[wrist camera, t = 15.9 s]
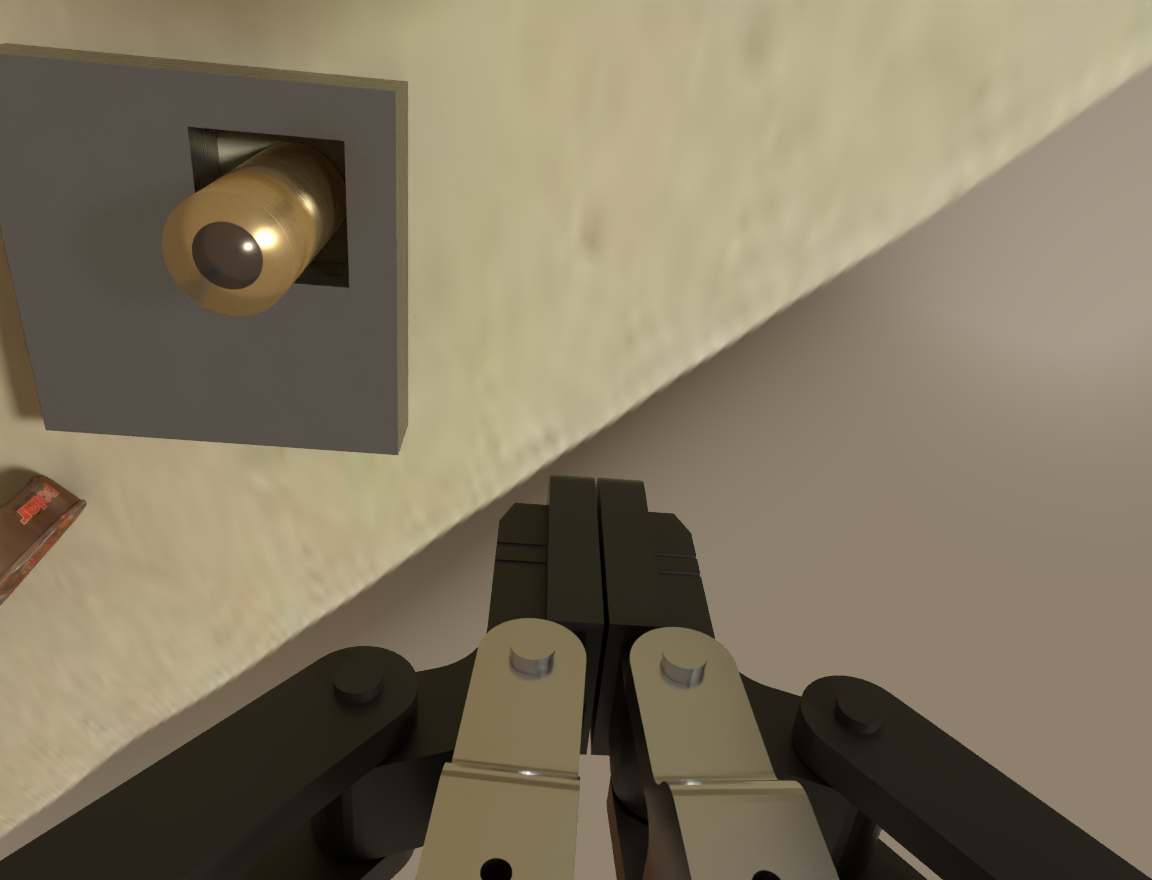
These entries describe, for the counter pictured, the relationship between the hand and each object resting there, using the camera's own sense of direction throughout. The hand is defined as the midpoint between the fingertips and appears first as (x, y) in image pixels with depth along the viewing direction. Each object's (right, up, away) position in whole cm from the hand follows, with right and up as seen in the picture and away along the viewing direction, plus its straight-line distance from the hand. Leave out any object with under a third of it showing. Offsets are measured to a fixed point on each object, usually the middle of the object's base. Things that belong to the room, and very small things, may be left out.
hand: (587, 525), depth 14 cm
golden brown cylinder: (-12, +12, +24) cm, 30 cm away
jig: (-16, +10, +25) cm, 31 cm away
